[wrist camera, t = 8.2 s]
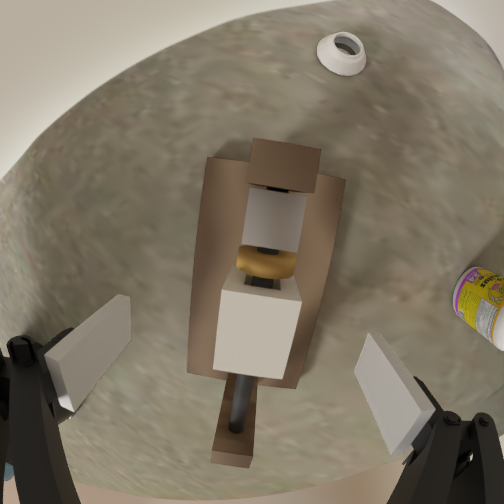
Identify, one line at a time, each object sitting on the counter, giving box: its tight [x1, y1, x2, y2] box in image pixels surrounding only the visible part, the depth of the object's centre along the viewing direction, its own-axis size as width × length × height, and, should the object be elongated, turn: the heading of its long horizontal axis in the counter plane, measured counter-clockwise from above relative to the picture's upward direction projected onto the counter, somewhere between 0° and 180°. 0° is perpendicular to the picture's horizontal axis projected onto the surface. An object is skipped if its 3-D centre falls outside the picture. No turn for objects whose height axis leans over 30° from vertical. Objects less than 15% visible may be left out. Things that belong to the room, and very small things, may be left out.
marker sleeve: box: [213, 266, 302, 379], centre depth 16 cm, size 4×5×4 cm
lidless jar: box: [317, 32, 367, 76], centre depth 19 cm, size 5×3×5 cm
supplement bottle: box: [453, 267, 504, 351], centre depth 19 cm, size 7×7×13 cm
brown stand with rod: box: [187, 138, 345, 468], centre depth 20 cm, size 12×22×13 cm, turn 172°
